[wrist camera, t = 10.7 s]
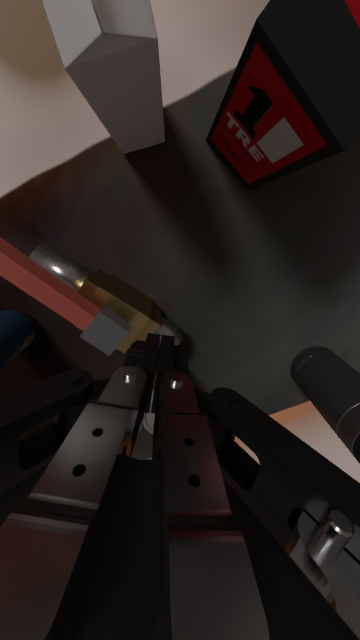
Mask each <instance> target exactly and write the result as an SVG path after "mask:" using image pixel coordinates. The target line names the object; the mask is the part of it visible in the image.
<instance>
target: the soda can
mask: <svg viewBox="0 0 360 640" xmlns="http://www.w3.org/2000/svg"><path fill="white" fill-rule="evenodd" d="M35 336H36V326H35V323H34V321H33V320H32V319H31V318H30V317H29V316H28V315H26V314H25V313H22V312H19V311H14V310H5V311H2V312H0V369H1V368H2V367H4V366H5V365H6V364H7V363H8V362H9V361H11V360H12V359H13V358H14V357H15V356H16V355H18V354H19V353H20V352H21V351H22V350H23V349H25V348H26V347H27V346H28V345H29V344H30V343H32V342H33V340H34V339H35Z"/></svg>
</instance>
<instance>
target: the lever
mask: <svg viewBox="0 0 360 640" xmlns="http://www.w3.org/2000/svg"><path fill="white" fill-rule="evenodd" d="M0 276H2V277H3V278H5V279H6V280H8V281H9V282H11V283H12V284H14V285H15V286H17V287H18V288H20V289H21V290H23V291H24V292H26V293H27V294H29V295H30V296H32V297H33V298H35V299H37V300H38V301H40V302H41V303H43V304H44V305H46V306H47V307H49V308H50V309H52V310H53V311H55V312H56V313H58V314H59V315H61V316H62V317H64V318H65V319H67V320H68V321H70V322H71V323H73V324H74V325H76V326H77V327H79V328H80V329H82V330H83V331H84V332H83V333H82V335H81V336H80V337H81V338H83V339H84V340H86V341H87V342H89V343H90V344H92V345H93V346H95V347H96V348H98V349H99V350H101V351H102V352H104V353H105V354H107V355H109V356H110V355H111V354H112V352H113V351H114V350H115V349H116V348H117V347H118V345H119V344H120V343H121V342H122V341H123V340H124V339H125V337H126V336H127V335H128V334H129V333H130V330H131V327H132V325H131V324H129V323H128V322H126V321H125V320H124V319H122V318H121V317H120V316H118V315H117V314H115V313H114V312H113V311H111V310H110V309H109V308H107V307H106V306H104V307H103V308H102V309H100V308H99V307H97V306H96V305H94V304H93V303H92V302H90V301H89V300H87V299H86V298H85V297H83V296H82V295H80V294H79V293H78V292H76V291H75V290H73V289H72V288H71V287H69V286H68V285H66V284H65V283H64V282H62V281H61V280H59V279H58V278H57V277H55V276H54V275H52V274H51V273H50V272H48V271H47V270H45V269H44V268H43V267H41V266H40V265H38V264H37V263H36V262H34V261H33V260H31V259H30V258H29V257H27V256H26V255H24V254H23V253H22V252H20V251H19V250H17V249H16V248H15V247H13V246H12V245H10V244H9V243H8V242H6V241H5V240H3V239H2V238H1V237H0Z"/></svg>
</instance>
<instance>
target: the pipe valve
mask: <svg viewBox="0 0 360 640" xmlns="http://www.w3.org/2000/svg"><path fill="white" fill-rule="evenodd" d="M29 258H30V259H31V260H33V261H34V262H36V263H37V264H38V265H40V266H41V267H43V268H44V269H45V270H47V271H48V272H50V273H51V274H52V275H54V276H55V277H57V278H58V279H59V280H61V281H62V282H64V283H65V284H66V285H68V286H69V287H71V288H72V289H73V290H75V291H76V292H78V293H79V294H80V295H82V296H83V297H85V298H86V299H87V300H89V301H90V302H92V303H93V304H94V305H96V306H97V307H99V308H100V309H102V308H103V307H104V306H106V307H107V308H109V309H110V310H111V311H113V312H114V313H115V314H117V315H118V316H120V317H121V318H122V319H124V320H125V321H126V322H128V323H129V324H131V325H132V327H131V330H130V333H129V334H128V335H127V336H126V337H125V339H124V340H123V341H122V342H121V343H120V344H119V345H118V347H117V348H116V349H117V350H119V351H121V352H123V353H125V352H126V351H127V349H128V348H129V349H130V346H131V344H132V343H134V342H135V341H136V340H140V341H146V338H147V334H148V333H153V334H160V335H161V337H162V335H168V336H175V341H174V345H179V344H180V342H181V340H182V337H183V334H184V331H183V330H182V329H181V328H179V327H178V326H176V325H174V324H173V323H171V322H170V321H168V320H166V319H165V318H163V317H162V316H161V310H162V309H161V308H160V307H158V306H157V305H155V304H153V301H154V300H152V299H151V298H149V297H148V296H146V295H144V294H143V293H141V292H140V291H138V290H137V289H135V288H134V287H132V286H130V285H129V284H127V283H126V282H124V281H123V280H121V279H120V278H118V277H116V276H115V275H113V274H112V275H111V276H109V275H108V274H106V273H105V272H103V271H102V270H99V271H97V272H95V273H94V274H93V273H91V272H90V271H88V270H87V269H85V268H83V267H82V266H80V265H79V264H77V263H75V262H74V261H72V260H71V259H69V258H67V257H66V256H64V255H63V254H61V253H59V252H58V251H56V250H55V249H53V248H51V247H50V246H48V245H47V244H41V245H39V246H38V247H37V248H36V249H35V250H34V251H33V252H32V253H31V255H30V256H29ZM75 326H76V325H75ZM76 327H77V326H76ZM77 328H79V327H77ZM79 329H80V328H79ZM81 330H82V329H81ZM161 337H160V344H161ZM160 344H159V349H160Z"/></svg>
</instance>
